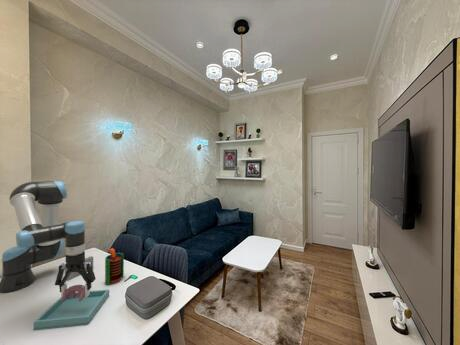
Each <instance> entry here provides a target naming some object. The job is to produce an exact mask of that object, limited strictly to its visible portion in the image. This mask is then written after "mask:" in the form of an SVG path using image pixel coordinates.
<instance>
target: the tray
mask: <svg viewBox="0 0 460 345" xmlns="http://www.w3.org/2000/svg"><path fill="white" fill-rule="evenodd" d="M75 293H76V295H77V293H78V292H75ZM109 296H110V289H109V288H107V289H99V290H98V289H97V290H96V289H95V290H90V294H89V296H88V297H87V298H85V296H84V298H83V299H82V301H80V302H79V298H76V296H75V297H74V298H70V297H69V296H68V297H67V298H66V300H65V301H63V302H61V297H60V298H58V299H57V300H56V301H55V302H54V303H53V304H52V305H50V306H49V308H47V309H46V310H45V311H44V312H43V313H42V314H41V315H40V316H39V317H37V319H35V320H34V321H33V331H36V330H45V329H56V328H66V327H77V326H85V325H89V324H90V322H91V321H92V320H93V319H94V317H95V316H96V314H97V313H98V312H99V310H100V309H101V307H102V306H103V305H104V303H105V302H106V301H107V300H108V298H109Z"/></svg>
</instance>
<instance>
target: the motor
mask: <svg viewBox="0 0 460 345" xmlns="http://www.w3.org/2000/svg"><path fill="white" fill-rule="evenodd" d="M108 253H109V254H108V255H107V256H106V257H105V261H104V265H105V266H104V268H105V269H104V272H105V275H104V280H105V282H104V284H105V285H106V286H110V285H115V284H118V283H120V282H122V279H123V277H124V275H125V274H124V272H125V270H124V268H125V267H124V266H125V265H124V264H125V262H124V261H125V258H124V256H125V255H124V253H123V252H116V250H115V249H114V248H110V249H108Z"/></svg>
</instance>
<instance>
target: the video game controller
mask: <svg viewBox="0 0 460 345" xmlns="http://www.w3.org/2000/svg"><path fill="white" fill-rule="evenodd" d="M75 292H78V293H77V295H76V293H75ZM68 296H69V297H70V298H74V297H75V296H76V298H79V302H80V301H82V299H83V298H84V296H85V284H84V285H83V284H75V285H72V286H69V287H67V290H66V291H65V293H64V295H63V296H62V298H61V297H60V298H61V302H63V301H65V300H66V298H67V297H68Z"/></svg>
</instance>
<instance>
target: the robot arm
mask: <svg viewBox="0 0 460 345" xmlns="http://www.w3.org/2000/svg"><path fill="white" fill-rule="evenodd" d="M67 197H68V191H67V187H66V185H65V183H64V182H63V181H61V180H52V181H51V180H49V181H46V180H45V181H29V182H25V183H21V184H20V185H18V186H17V187H15V188H14V189H13V190H12V191H11V193H10V194H9V203H10V205H11V206H13V207H14V210H15V215H16V217H17V222H18V227H19V230H20V231H18V232H17V233H16V236H15V242H16V245H15V246H13V247H10V248H8V249H6V250H5V251H4V252H2V258H1V262H2V264H1V265H2V268H1V269H2V272H1V273H2V274H1V276H2V277H1V279H0V292H8V293H12V292H15V291H19V290H22V289H24V288H26V287H28V286H31V285H32V284H33V283H34V282H35V281H36V276H35V274H34V272H33V270H32V265H35V264H38V263H42V262H45V261H49V260H53V259H55V258H59V257H60V256H61V255H62V253H63V250H64V243H65V262H64V263H62V264H60V265H59V266H58V271H57V275H56V278H55V281H54V286H58V287H59V293H61V297H60V298H62V296H63V295H64V293H65V291H66V290H67V289H68V283H66V282H67V281H66V280H67V279H68V277H69V275H70V274H71V272H78V273H79V274H81V275H80V276H81V277H82V279H83V280H84V283H85V284H84V286H85V298H87V297H88V296H89V294H90V291H91V289H92V283H94V282H95V280H97V279H96V278H97V277H96V276H95V275H96V274H95V272H94V268H93V269H92V262H89V263H86V262H85V258H86V252H85V251H86V244H85V242H86V241H85V240H86V239H85V238H86V237H85V236H86V235H85V234H86V233H85V232H86V231H85V230H86V226H85V221H83V220H74V221H64V222H60V223H59V216H60V215H59V214H60V205H61V204H62V203H63V202H64V201H63V199H66V198H67ZM35 202H37V204H38V205H40V214H39V212H38V209H37V206H36V204H35ZM63 239H65V242H64V241H63ZM84 265H85V266H86V270H87V272H86V270H85V267H84ZM65 267H66V268H67V269H68V270H67V272H66V274H65ZM81 269H82V270H81Z"/></svg>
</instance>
